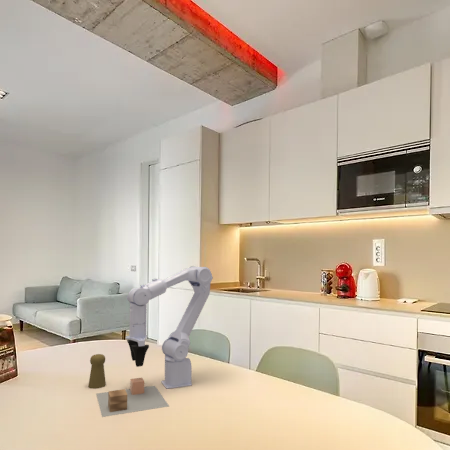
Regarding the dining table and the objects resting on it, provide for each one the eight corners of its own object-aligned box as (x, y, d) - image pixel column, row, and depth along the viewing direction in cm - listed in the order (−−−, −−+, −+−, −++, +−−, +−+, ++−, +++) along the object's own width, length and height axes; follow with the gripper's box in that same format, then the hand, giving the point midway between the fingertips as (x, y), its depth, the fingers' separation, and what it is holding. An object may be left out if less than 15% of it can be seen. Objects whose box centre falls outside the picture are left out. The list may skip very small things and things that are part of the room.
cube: (141, 389, 133) (142, 377, 134) (144, 393, 130) (144, 381, 130) (130, 390, 132) (130, 379, 132) (132, 394, 128) (132, 382, 128)
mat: (154, 386, 137) (154, 385, 137) (169, 406, 119) (169, 406, 119) (96, 394, 129) (96, 393, 129) (102, 417, 111) (102, 416, 111)
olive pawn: (100, 389, 133) (101, 357, 134) (84, 388, 135) (85, 356, 135) (109, 383, 139) (109, 353, 140) (93, 382, 141) (94, 352, 141)
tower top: (124, 396, 121) (124, 389, 121) (127, 402, 116) (127, 394, 117) (108, 398, 119) (108, 391, 119) (110, 404, 114) (110, 397, 115)
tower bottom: (124, 403, 121) (124, 396, 121) (127, 409, 116) (127, 402, 116) (108, 406, 119) (108, 398, 119) (110, 412, 114) (110, 404, 114)
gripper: (123, 320, 137) (122, 358, 137) (129, 327, 124) (128, 370, 123) (142, 318, 140) (142, 356, 139) (151, 325, 127) (150, 367, 126)
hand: (137, 363), depth 131 cm, fingers open, 7 cm apart
